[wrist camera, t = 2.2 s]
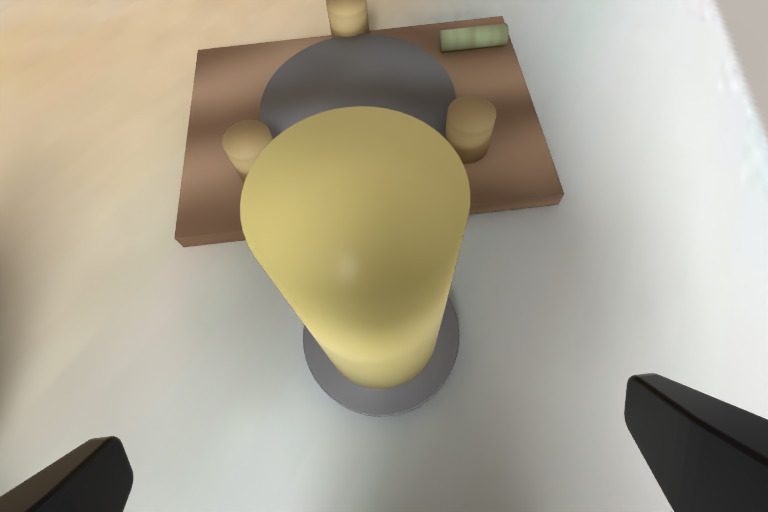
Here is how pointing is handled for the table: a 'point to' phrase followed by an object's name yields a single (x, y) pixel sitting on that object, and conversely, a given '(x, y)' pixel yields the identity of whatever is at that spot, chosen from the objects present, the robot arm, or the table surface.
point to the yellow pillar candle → (364, 250)
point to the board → (370, 89)
